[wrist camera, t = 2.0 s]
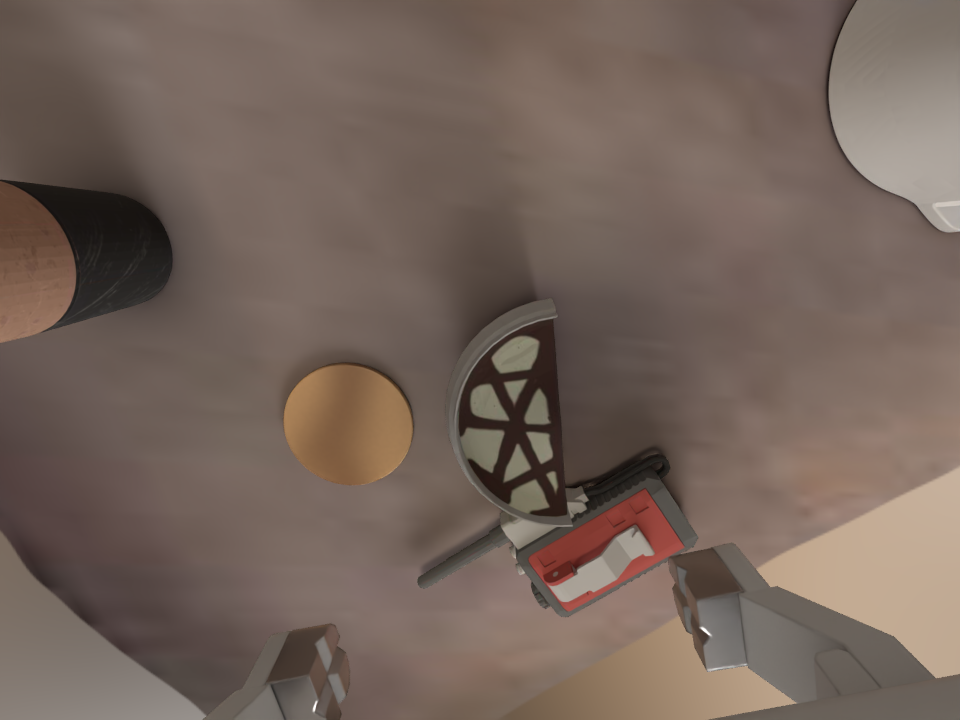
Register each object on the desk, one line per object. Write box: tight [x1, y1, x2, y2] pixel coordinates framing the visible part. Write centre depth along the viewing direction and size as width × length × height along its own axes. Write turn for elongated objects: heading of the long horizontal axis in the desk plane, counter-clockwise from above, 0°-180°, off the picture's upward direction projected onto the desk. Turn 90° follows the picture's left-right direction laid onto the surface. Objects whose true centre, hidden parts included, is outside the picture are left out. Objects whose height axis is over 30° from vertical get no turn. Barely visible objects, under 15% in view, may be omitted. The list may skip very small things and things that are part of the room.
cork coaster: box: [284, 363, 414, 485], centre depth 36 cm, size 9×9×1 cm
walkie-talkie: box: [418, 454, 698, 617], centre depth 37 cm, size 9×4×20 cm
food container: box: [445, 298, 573, 527], centre depth 31 cm, size 12×6×10 cm, turn 6°
